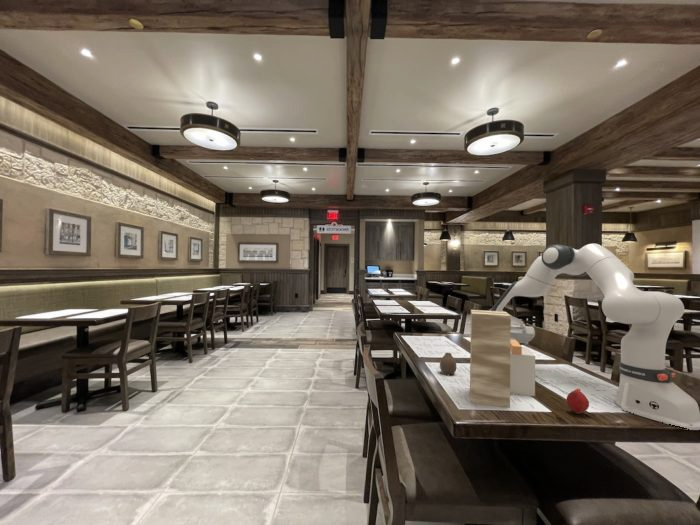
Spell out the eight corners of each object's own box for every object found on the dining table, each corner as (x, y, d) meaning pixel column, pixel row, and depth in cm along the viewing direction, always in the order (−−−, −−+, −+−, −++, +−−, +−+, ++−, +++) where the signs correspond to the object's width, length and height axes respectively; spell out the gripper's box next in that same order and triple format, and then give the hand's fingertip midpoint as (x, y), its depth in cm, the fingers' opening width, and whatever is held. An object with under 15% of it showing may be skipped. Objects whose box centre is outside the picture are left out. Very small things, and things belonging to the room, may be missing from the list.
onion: (579, 418, 99) (579, 392, 99) (562, 410, 105) (562, 385, 105) (593, 416, 101) (593, 390, 101) (575, 408, 106) (575, 384, 106)
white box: (494, 380, 132) (495, 345, 133) (527, 384, 129) (528, 347, 129) (498, 391, 120) (498, 352, 121) (534, 396, 116) (535, 355, 117)
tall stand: (469, 389, 122) (470, 309, 122) (505, 394, 118) (505, 311, 118) (470, 401, 110) (472, 313, 111) (509, 407, 106) (510, 315, 107)
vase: (458, 376, 137) (458, 355, 137) (442, 375, 137) (442, 355, 137) (453, 371, 144) (453, 351, 144) (437, 370, 144) (438, 351, 144)
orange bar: (505, 343, 136) (505, 336, 136) (513, 344, 135) (513, 337, 135) (512, 354, 118) (512, 346, 118) (521, 355, 117) (521, 346, 117)
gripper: (481, 327, 151) (483, 316, 140) (530, 331, 144) (536, 319, 133) (481, 340, 148) (483, 330, 137) (531, 345, 141) (538, 333, 130)
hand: (510, 324), depth 135 cm, fingers open, 8 cm apart
